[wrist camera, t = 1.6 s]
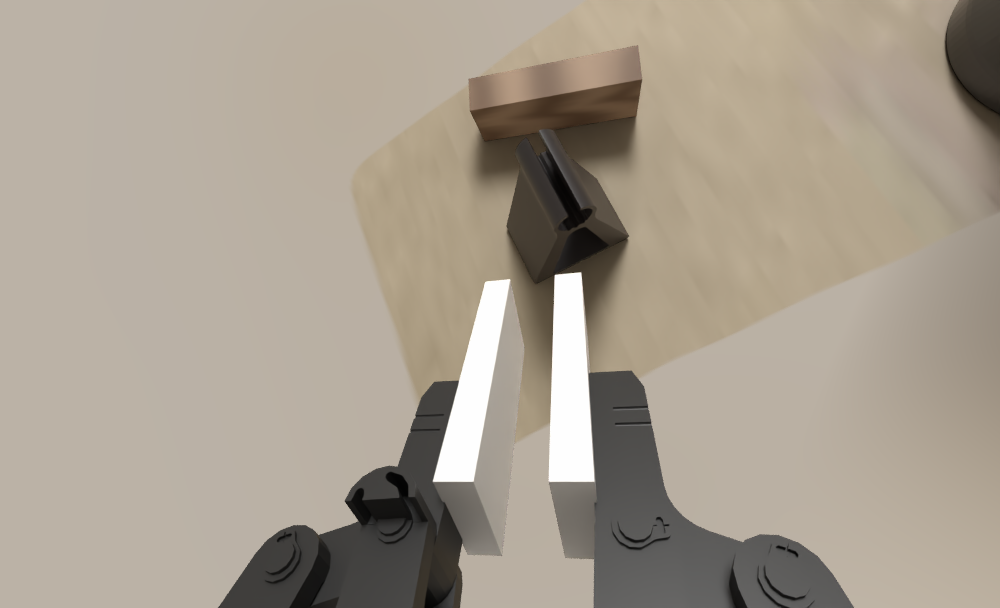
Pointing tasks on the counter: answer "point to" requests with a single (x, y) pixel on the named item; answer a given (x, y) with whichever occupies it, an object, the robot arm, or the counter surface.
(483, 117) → the block
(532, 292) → the counter surface
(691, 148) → the counter surface
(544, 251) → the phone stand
